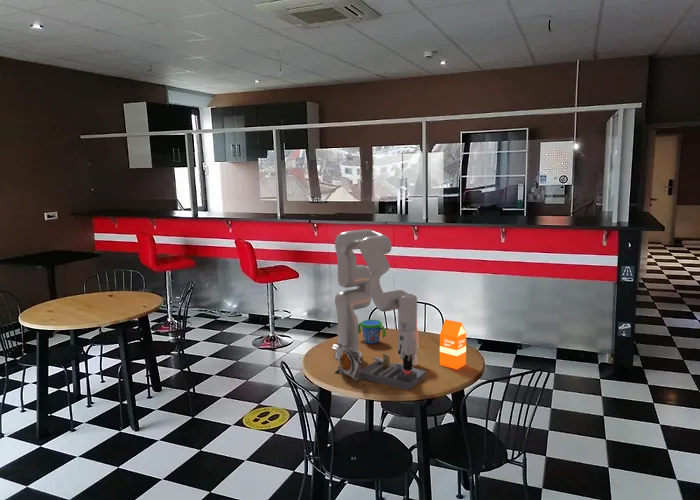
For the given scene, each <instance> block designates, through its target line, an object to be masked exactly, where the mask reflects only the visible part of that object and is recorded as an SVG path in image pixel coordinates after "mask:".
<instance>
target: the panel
mask: <svg viewBox="0 0 700 500" xmlns="http://www.w3.org/2000/svg"><path fill="white" fill-rule="evenodd" d="M359 372H360V370H359ZM360 376H361V378H360ZM425 378H427V370H424V369H419V368H414V367H412V369H411V375H410V376H409V375H405V374H403V371H401V372H399V371H397V365H396V363H391V362H390V367H389V368H386V367H383V363H381V362H378V361H376V360H374V362H372V363H370V364H369V365H367V366H365V367H363V368H361V372H360V374H359V379H360V380H366V381H370V382H373V381H374V382H375V383H377V382H378V383H379V384H382V385H385V384H386V386H389V387H395V388H398V389H402V390H406V389H407V390H406V391H410V390H411V389H412V388H414V387H415V386H416V385H418V384H419V383H420V382H421V381H422V380H425Z"/></svg>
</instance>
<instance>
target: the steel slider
mask: <svg viewBox="0 0 700 500" xmlns="http://www.w3.org/2000/svg"><path fill="white" fill-rule="evenodd" d="M395 364H396V365H397V371H399V372H401V371H403V362H398V361H397V362H396V363H395Z"/></svg>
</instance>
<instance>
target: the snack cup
mask: <svg viewBox="0 0 700 500" xmlns="http://www.w3.org/2000/svg"><path fill="white" fill-rule="evenodd" d="M381 330H382V335H381ZM361 333H362V336H363V341H364V342H365V344H370V345H371V344H377V343H379V341H380V337H382V339H384V338H385V337H386V336H387V335H386V333H387V332H386V328H385V326H384V325H383V324H382V321H381V320H379V319H365V320H364V319H363V321H361V322H358V334H361Z"/></svg>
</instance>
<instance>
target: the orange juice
mask: <svg viewBox="0 0 700 500" xmlns="http://www.w3.org/2000/svg"><path fill="white" fill-rule="evenodd" d="M443 321H444V322H443V325H442V327H441V330H440V333H439V365H440V366H443V367H447V368H451V369H454V370H459V369H460V368H462V367H464V366H466V364H467V363H466V362H467V360H466V359H467V332H466V329H465V327H464V324H463V323H462V322H460V321H455V320H451V319H446V318H445V319H444V320H443Z"/></svg>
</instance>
